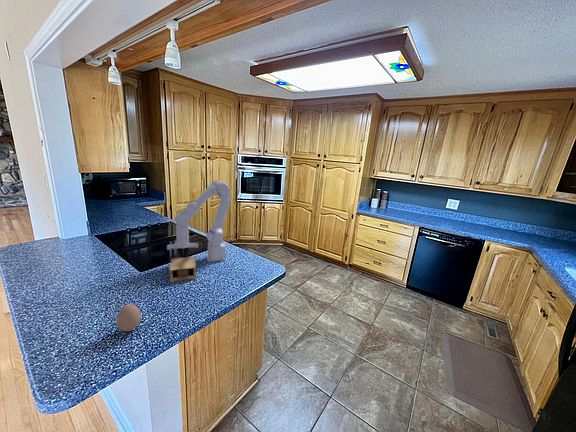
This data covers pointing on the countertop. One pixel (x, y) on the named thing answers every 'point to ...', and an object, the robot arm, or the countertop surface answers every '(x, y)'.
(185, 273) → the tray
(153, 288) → the countertop surface
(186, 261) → the shelf
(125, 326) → the egg
